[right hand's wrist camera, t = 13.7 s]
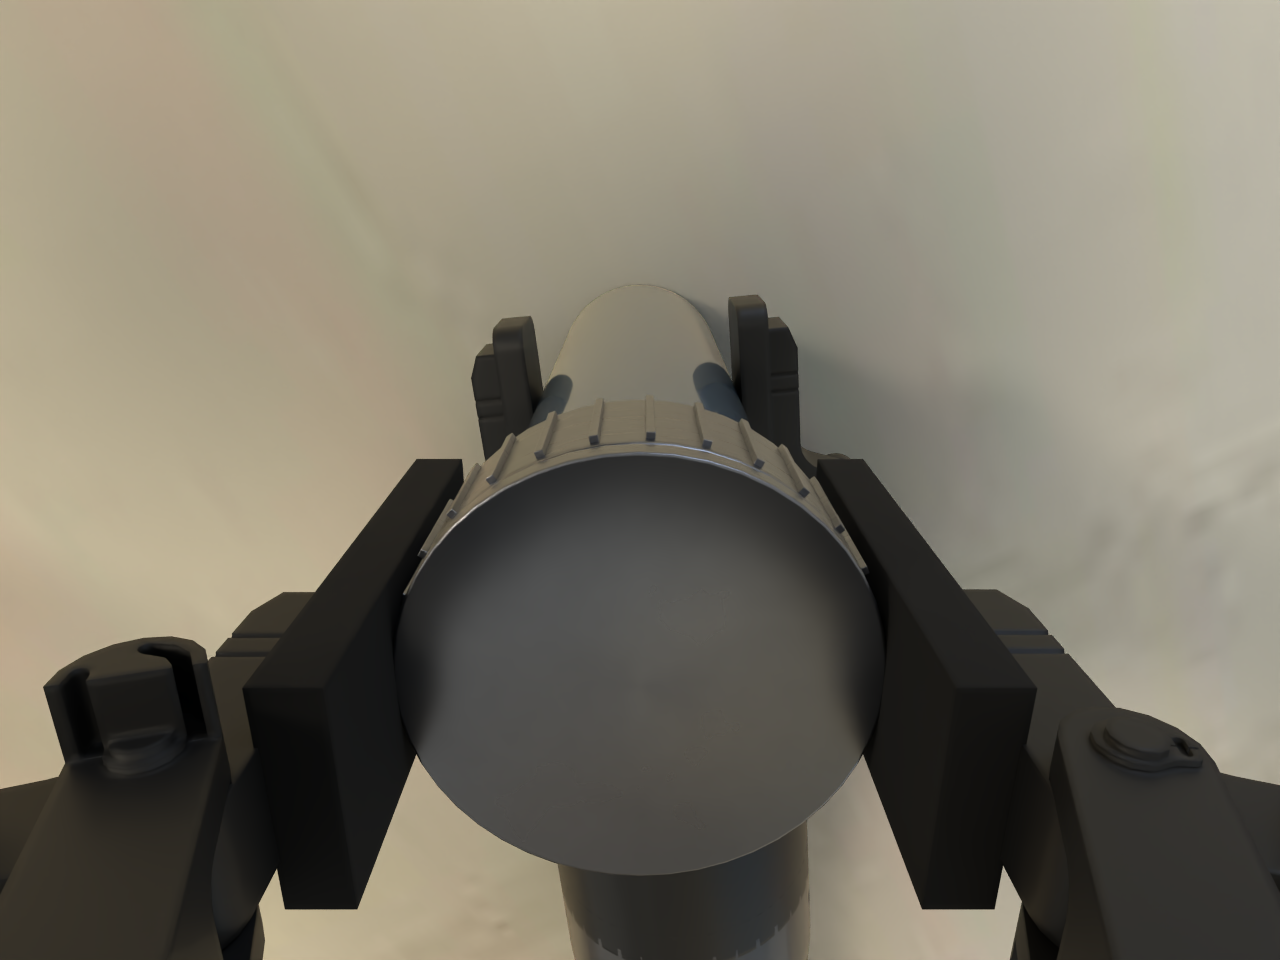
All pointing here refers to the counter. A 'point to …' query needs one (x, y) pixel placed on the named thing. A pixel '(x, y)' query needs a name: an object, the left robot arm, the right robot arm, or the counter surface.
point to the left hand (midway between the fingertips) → (628, 314)
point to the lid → (639, 642)
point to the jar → (639, 356)
